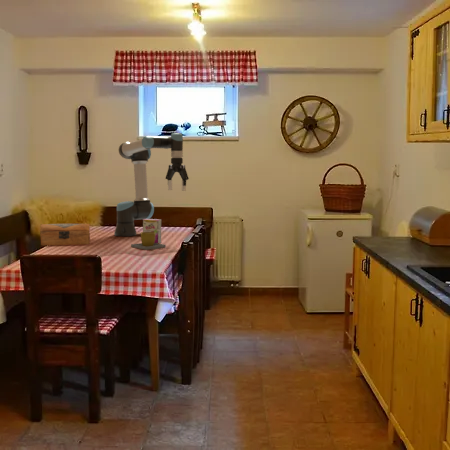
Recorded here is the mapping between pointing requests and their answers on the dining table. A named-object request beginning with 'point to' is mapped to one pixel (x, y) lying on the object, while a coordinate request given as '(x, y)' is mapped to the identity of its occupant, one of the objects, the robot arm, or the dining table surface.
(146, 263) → the dining table surface
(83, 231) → the wooden box
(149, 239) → the flower pot
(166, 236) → the dining table surface
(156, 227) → the candy bar box
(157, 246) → the plant tray
